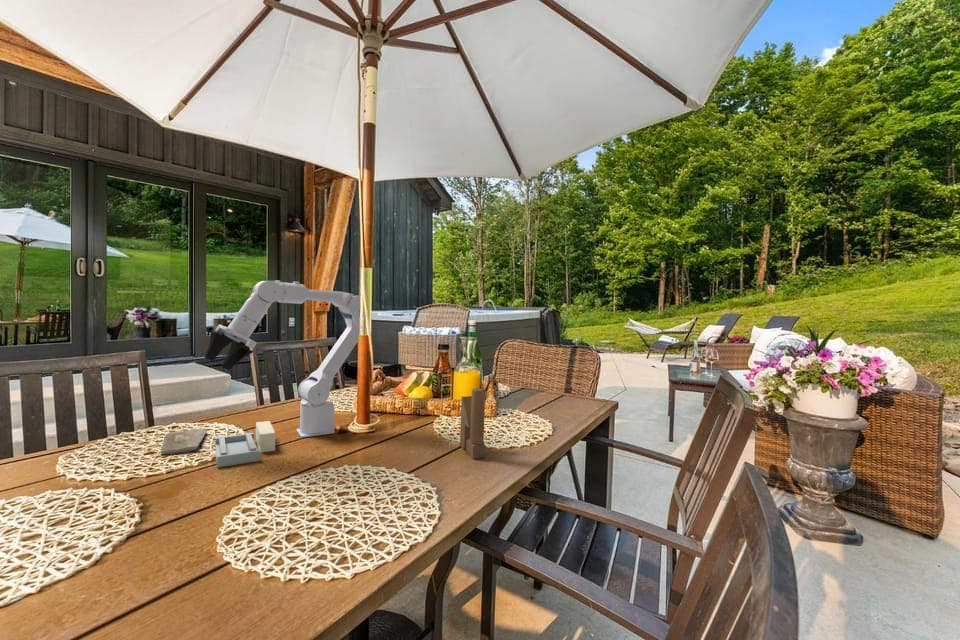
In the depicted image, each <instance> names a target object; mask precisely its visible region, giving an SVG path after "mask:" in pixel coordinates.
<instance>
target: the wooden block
mask: <svg viewBox="0 0 960 640" xmlns="http://www.w3.org/2000/svg"><path fill="white" fill-rule="evenodd" d="M485 404H486V389H485V388H479V387H477V388H476V387H475V388H472V390H471V395H470V396H469V395H468V396H461V407H460V408H461V409H460V411H461V412H460V413H461V414H460V434H459V436H460V437H459V441H460V442H459V446H460V447H461V449H463V450H464V451H465V450H466V451H465V453H466V454H467V455H469V456H470V458H472V460H475V459H477V460H478V459H485V457H486V446H487V445H486V444H485V443H484V438H485V411H486V410H485V409H486V408H485V407H486V405H485Z"/></svg>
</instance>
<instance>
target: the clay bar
mask: <svg viewBox="0 0 960 640" xmlns="http://www.w3.org/2000/svg"><path fill="white" fill-rule="evenodd" d="M255 441H256V442H255V443H256V446H257V449H258V450H260V454H261V453H266V452H267V453H268V452H275V451H276V431H275V429H274V427H273V425H272V423H271V421H270V420H266V421H256V422H255Z"/></svg>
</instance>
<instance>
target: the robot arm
mask: <svg viewBox="0 0 960 640" xmlns="http://www.w3.org/2000/svg"><path fill="white" fill-rule="evenodd" d="M360 296H361V295H355V294H353V293H349V292H345V291H338V290H336V291H335V290H323V289H321V290H319V289H309V288H308V287H306V286H305V285H304V283H303V284H301V283H300V281H292V283H291V282H285V281H284V282H282V281H281V280H279V279H278V280H277V279H276V280H261V281H259V282H257V283H256V284H254V285H253V287H252V293H251V294H250V296H249V297H248V299H246V301H245V302H244V303H243V305H242V306H241V308H240V309H239V310H238V312H237V314H236V315H235V316H234V317H233V318H232V321H231V322H230V323H229V324H228V326H225V325H222V324H218V325H217V327H216V328H215V331H214V330H211V331H210V337H209V338H210V340H209V344H208V347H207V350H206V353H205V355H204V358H205V359H207V360H210V361H214V360H215V359H216V358H217V357H218V355H219V354H220V353H221V352H222V351H223V350H224V349H225V348H226V347H227V346H228V345H229V344H231V345H230V348H229V351H228V353H227V355H226V357H225V358H224V360H223V362H222V363H221V368H223V369H226V370H227V371H229V370H231V369H232V368H233V367H234V366H235V365H236V364H238V363H239V362H240V361H241V360H242V359H245V357H247V356H250V355H251V354H253V352H254V351H253V350H254V349H255V346H256V345H257V344H258V342H257V341H254V340H253V339H251V338H250V337H251V335H252V333H254V331H255V330H256V328H257V326H258V325H259V324H260V322H261V321H262V319H264V316H265V315H266V314H267V312H268V309H269V308H270V307H271V306H272V304H273V303H276V302H277V303H283V304H296V305H297V304H298V305H302V304H303V303H304V302H306V301H317V302H318V301H319V302H328V303H331V304H332V306H334V307H337V308H338V310H339V312H340V313H341V315H342V317H343V318H344V323H345V325H346V328H345V329H344V330H343V332H342V334H340V336H339V338H338V339H337V340H336V342H335V344H334V345H333V347H332V348H331V349H330V351H329V352H328V354H327V355H326V356H325V357H324V359H323V361H322V362H321V364H320V365H319V366H318V368H317V369H315V370H314V371H313V372H311V373H310V374H309V376H308V377H306V378H305V379H303V380H302V381H301V382H300V384H299V385H298V387H297V388H298V389H297V392H298V395H299V397H301V401H300V406H299V407H300V408H299V412H300V414H299V418H300V419H299V428H296V432H297V433H298V435H299V436H300V438H308V437H314V436H316V437H317V436H323V435H330V434H335V432H336V431H335V405H334V403H333V402H332V401H328V399H329V396H330V391H331V389H332V388H333V385H334V377H335V376H336V374H337V373H338V371H339V370H340V368H341V367H342V366H343V364H344V363H345V361H346V360H347V358H348V357H349V355H350V353H351V352H352V351H353V349H354V348H355V346H356V345H357V343H358V342H359V341H358V336H359V310H360ZM234 336H235V337H234ZM236 337H237V338H236Z"/></svg>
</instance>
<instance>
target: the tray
mask: <svg viewBox="0 0 960 640" xmlns="http://www.w3.org/2000/svg"><path fill="white" fill-rule="evenodd" d="M254 434H255V433H254V432H245V433H239V434H234V435H219V436H217V437H215V442H214V445H215V458H216V468H224V467H228V466H230V467H231V466H235V465H241V464H248V463H254V462H259V461H260V459H261V458H260V457H261V453H260V450H259V449H258V446H257V443H256V442H255V441H256V440H255V439H254V437H255V436H254Z"/></svg>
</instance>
